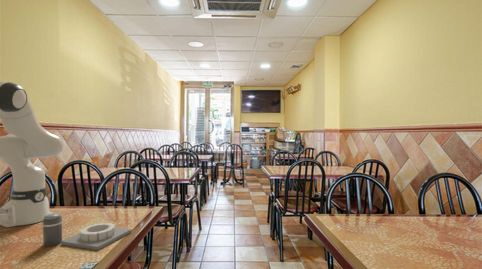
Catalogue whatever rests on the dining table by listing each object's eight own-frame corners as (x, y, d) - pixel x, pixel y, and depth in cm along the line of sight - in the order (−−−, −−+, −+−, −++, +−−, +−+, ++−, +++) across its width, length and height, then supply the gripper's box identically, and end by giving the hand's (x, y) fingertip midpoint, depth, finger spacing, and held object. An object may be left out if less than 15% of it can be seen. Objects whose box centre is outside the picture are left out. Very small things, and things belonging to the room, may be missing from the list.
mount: (61, 244, 90) (61, 234, 90) (98, 228, 105) (98, 219, 105) (97, 250, 85) (97, 239, 85) (131, 232, 101) (131, 222, 100)
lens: (39, 245, 89) (38, 217, 89) (54, 239, 94) (54, 212, 94) (50, 247, 88) (50, 218, 87) (66, 241, 93) (65, 213, 93)
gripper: (-63, 221, 64) (10, 209, 75) (-61, 207, 78) (1, 198, 88) (-63, 246, 64) (10, 230, 75) (-60, 227, 78) (1, 216, 88)
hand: (5, 213), depth 82 cm, fingers open, 8 cm apart
